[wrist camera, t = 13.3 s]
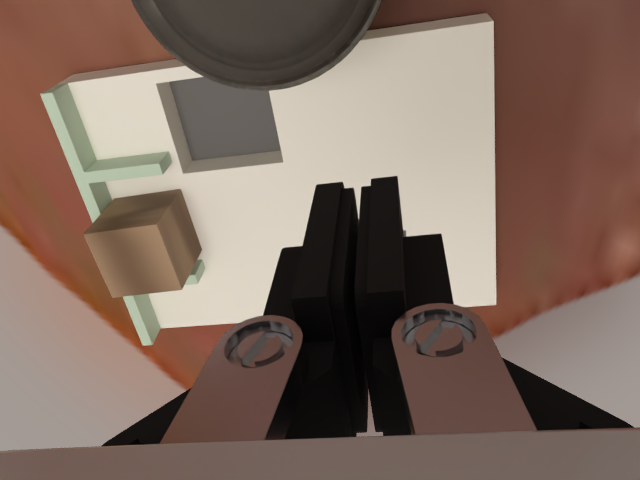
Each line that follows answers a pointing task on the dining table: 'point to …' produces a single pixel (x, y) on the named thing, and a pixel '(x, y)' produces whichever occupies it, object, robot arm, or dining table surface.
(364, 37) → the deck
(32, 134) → the dining table surface
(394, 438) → the robot arm
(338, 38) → the coffee can
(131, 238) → the walnut block
